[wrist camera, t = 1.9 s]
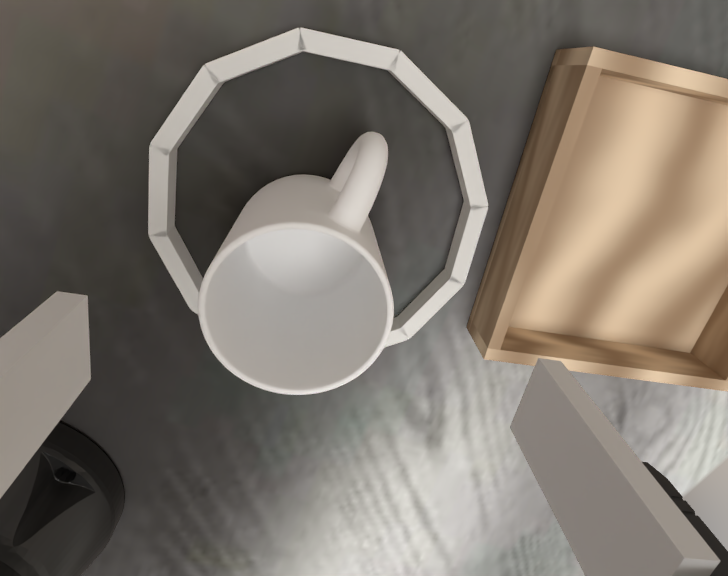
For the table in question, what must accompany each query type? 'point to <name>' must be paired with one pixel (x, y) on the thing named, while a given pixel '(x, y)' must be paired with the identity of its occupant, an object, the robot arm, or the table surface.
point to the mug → (303, 280)
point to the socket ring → (346, 50)
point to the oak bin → (616, 227)
